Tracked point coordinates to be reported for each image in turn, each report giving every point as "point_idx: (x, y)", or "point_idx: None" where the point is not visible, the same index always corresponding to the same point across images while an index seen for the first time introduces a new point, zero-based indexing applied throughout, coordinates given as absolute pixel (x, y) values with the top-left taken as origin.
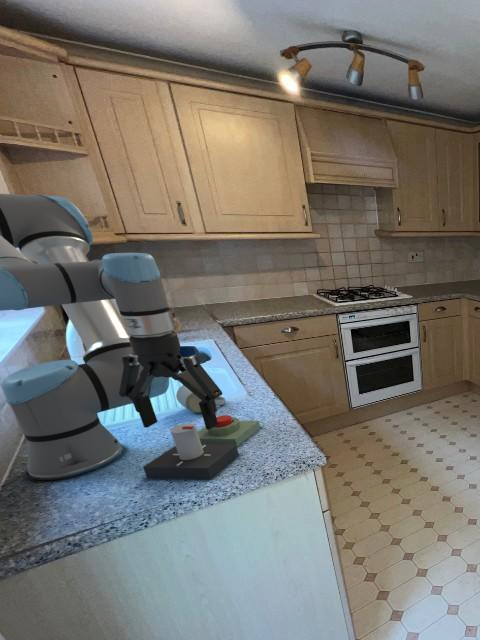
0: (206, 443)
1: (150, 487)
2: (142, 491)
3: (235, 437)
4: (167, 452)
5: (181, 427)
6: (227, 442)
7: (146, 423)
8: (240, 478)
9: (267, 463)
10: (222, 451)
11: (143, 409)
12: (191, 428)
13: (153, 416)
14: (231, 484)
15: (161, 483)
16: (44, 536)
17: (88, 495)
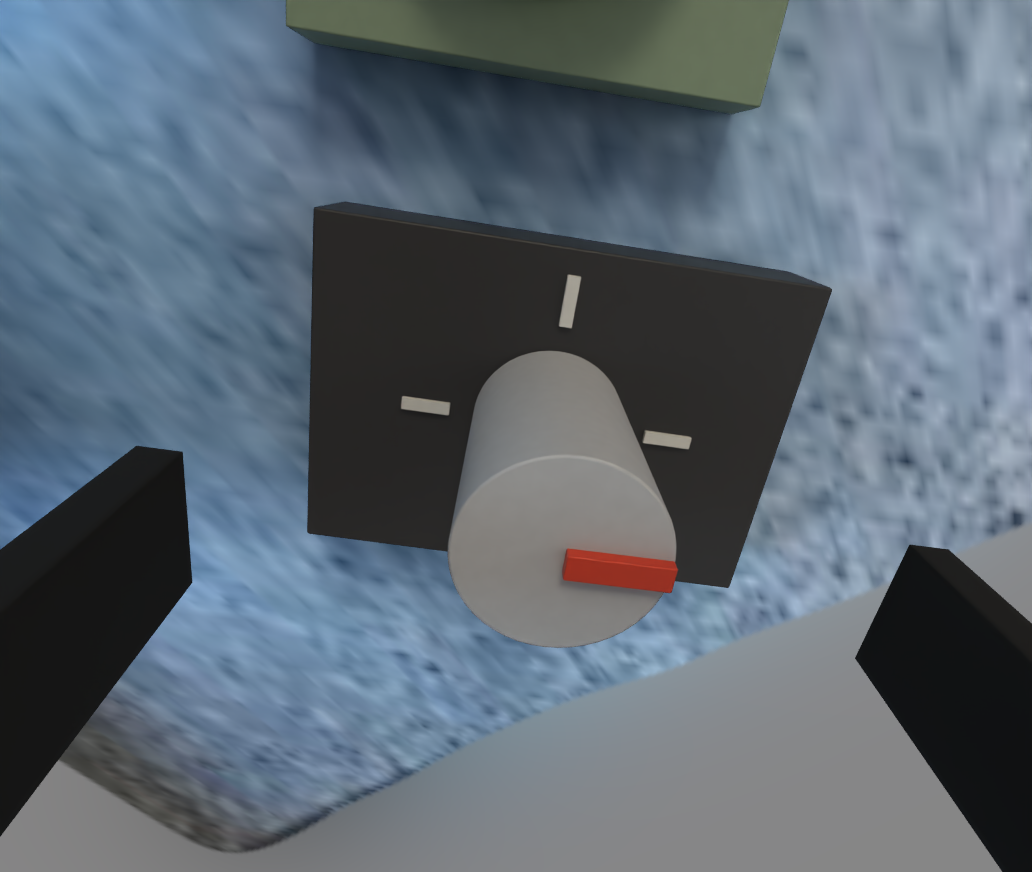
0: (467, 66)
1: (415, 570)
2: (399, 597)
3: (751, 71)
4: (332, 360)
5: (536, 547)
6: (665, 97)
7: (165, 615)
8: (867, 545)
9: (1003, 405)
10: (756, 394)
11: (25, 764)
12: (663, 584)
13: (131, 532)
14: (832, 590)
15: None
16: (246, 805)
17: None
